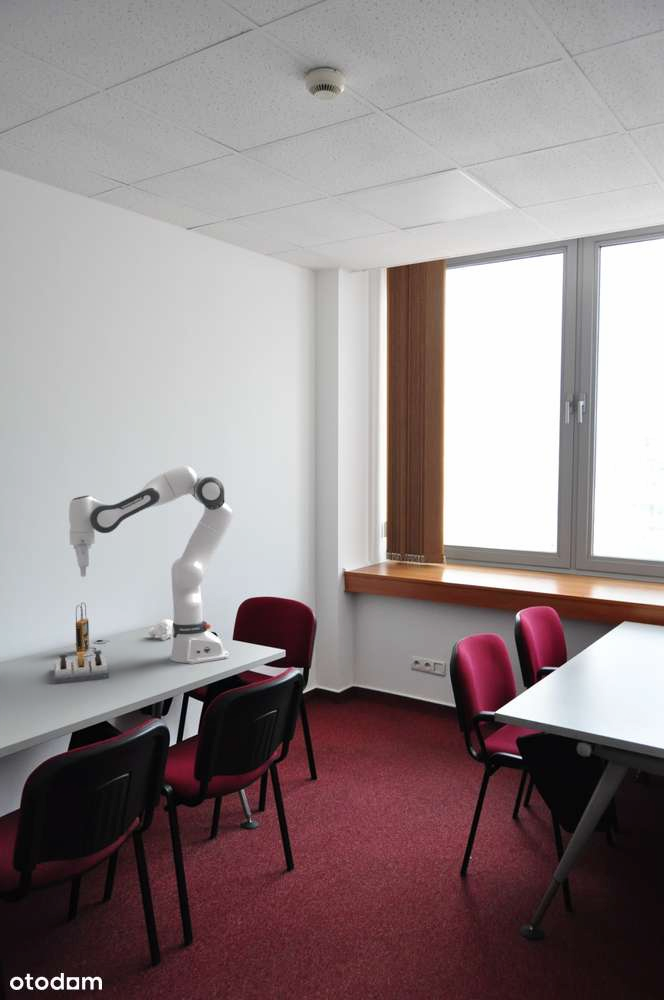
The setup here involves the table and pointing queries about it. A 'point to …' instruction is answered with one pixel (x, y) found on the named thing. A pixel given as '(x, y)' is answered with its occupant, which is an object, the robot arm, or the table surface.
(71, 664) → the breaker board
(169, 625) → the white crumpled lump
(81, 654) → the orange breaker
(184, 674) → the table surface
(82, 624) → the multimeter
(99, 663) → the black breaker near arm
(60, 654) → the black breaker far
